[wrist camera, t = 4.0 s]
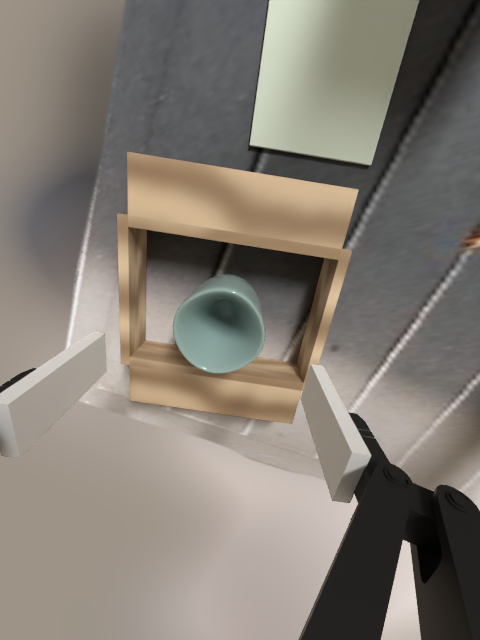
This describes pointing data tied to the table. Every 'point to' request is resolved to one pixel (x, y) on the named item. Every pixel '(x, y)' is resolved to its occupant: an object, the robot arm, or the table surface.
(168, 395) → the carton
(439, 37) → the table surface
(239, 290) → the cup
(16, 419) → the robot arm
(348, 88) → the mat
